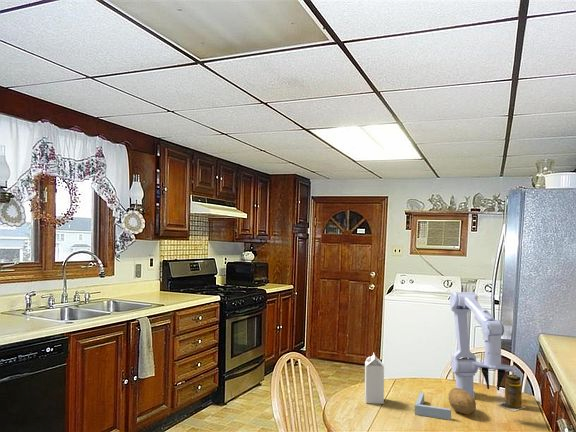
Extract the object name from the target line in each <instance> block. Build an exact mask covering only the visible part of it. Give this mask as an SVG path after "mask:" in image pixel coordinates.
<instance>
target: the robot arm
mask: <svg viewBox="0 0 576 432" xmlns="http://www.w3.org/2000/svg"><path fill="white" fill-rule="evenodd" d="M478 301H479V300H478V295H477V294H476V292H475V291H452V293H451V294H450V296H449V303H450V305H449V306H450V310H451V311H452V312H453V314H454V326H455V338H456V346H457V347H456V349H457V350H456V351H455V352H453V354H451V360H450V361H451V362H450V368H451V372H453V373H454V374H455V388H460V389H463V390H465V391H466V392H467V393H469V394H470V395H471V396H472V397H473V398H474V399H475V394H476V393H475V390H474V376H476V374H477V372H478V370H479V369H481V373H482V376H483V377H484V380H485V384H486V388H487V389H488V390H490V381H489V378H490V377H489V370H492V371H493V370H495V371H497V384H496V389H497V390H496V391H500V387H501V384H502V382H503V378H504V377H505V376H506V372H511V373H515V366H514V365H510V364H503V363H502V336H503V335H504V334H505V325H504V323H503V321H502V320H500V319H499V320H498V319H495V318H494V316H493V315H492V314H491V313H490V312H489V311H488V309H487V308H482V306H481V305H480V303H479V302H478ZM469 311H471V312H472V313H473V314H474V319H475V320H476V321H477V322H478V324H479V325H480V327H481V332H482V339H483V340H484V361H477V357H476V355H475V354H474V353H473V352H472V351H470V340H469V328H468V318H467V313H469Z"/></svg>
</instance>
